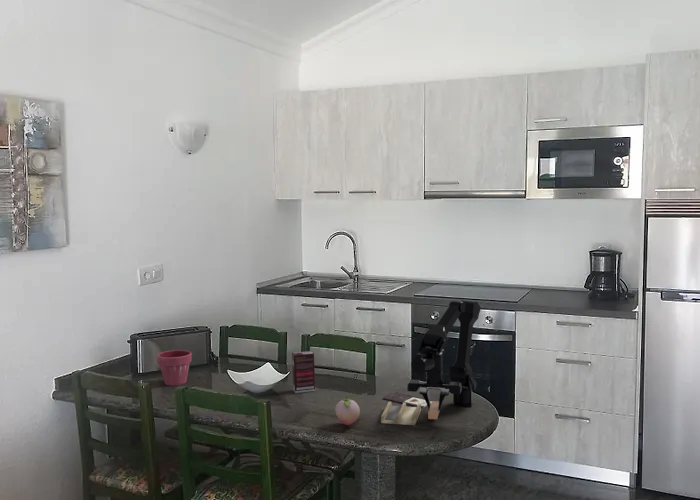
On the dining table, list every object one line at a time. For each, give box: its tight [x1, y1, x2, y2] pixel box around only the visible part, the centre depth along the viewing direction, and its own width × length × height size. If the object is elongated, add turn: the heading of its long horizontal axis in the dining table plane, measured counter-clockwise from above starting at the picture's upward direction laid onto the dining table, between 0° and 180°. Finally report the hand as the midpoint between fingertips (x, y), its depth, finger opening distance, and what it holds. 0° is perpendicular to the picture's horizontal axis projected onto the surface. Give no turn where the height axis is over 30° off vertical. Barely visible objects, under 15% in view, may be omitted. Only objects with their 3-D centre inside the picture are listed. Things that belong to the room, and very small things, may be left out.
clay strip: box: [427, 400, 440, 420], centre depth 241 cm, size 3×12×2 cm, turn 166°
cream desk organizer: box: [380, 401, 422, 426], centre depth 244 cm, size 12×16×2 cm
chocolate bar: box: [382, 392, 434, 409], centre depth 262 cm, size 9×1×18 cm
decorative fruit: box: [334, 397, 361, 426], centre depth 236 cm, size 9×8×10 cm
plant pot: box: [156, 349, 193, 386], centre depth 290 cm, size 14×14×13 cm
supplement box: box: [291, 350, 316, 394], centre depth 276 cm, size 9×5×16 cm, turn 106°
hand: (434, 410), depth 241 cm, fingers closed on clay strip, 3 cm apart
